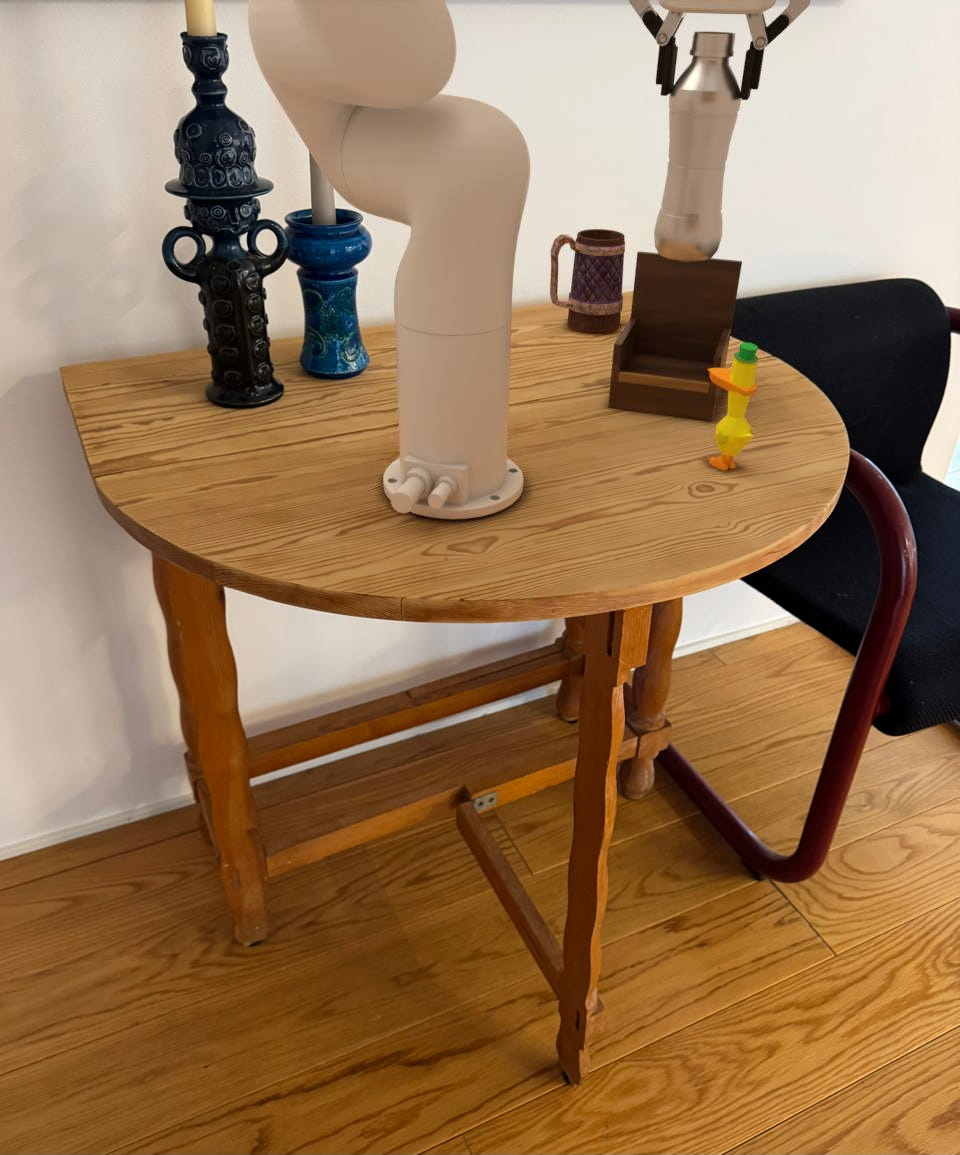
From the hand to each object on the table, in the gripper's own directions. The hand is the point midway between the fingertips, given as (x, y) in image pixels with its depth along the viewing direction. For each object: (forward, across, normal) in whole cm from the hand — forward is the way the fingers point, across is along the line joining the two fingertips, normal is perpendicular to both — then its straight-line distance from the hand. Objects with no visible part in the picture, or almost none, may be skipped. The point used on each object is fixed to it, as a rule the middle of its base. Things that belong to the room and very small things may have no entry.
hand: (705, 94), depth 88 cm
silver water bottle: (+15, 0, 0) cm, 15 cm away
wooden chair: (+30, 0, 0) cm, 30 cm away
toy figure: (+30, +8, -15) cm, 34 cm away
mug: (+30, -14, +20) cm, 39 cm away
